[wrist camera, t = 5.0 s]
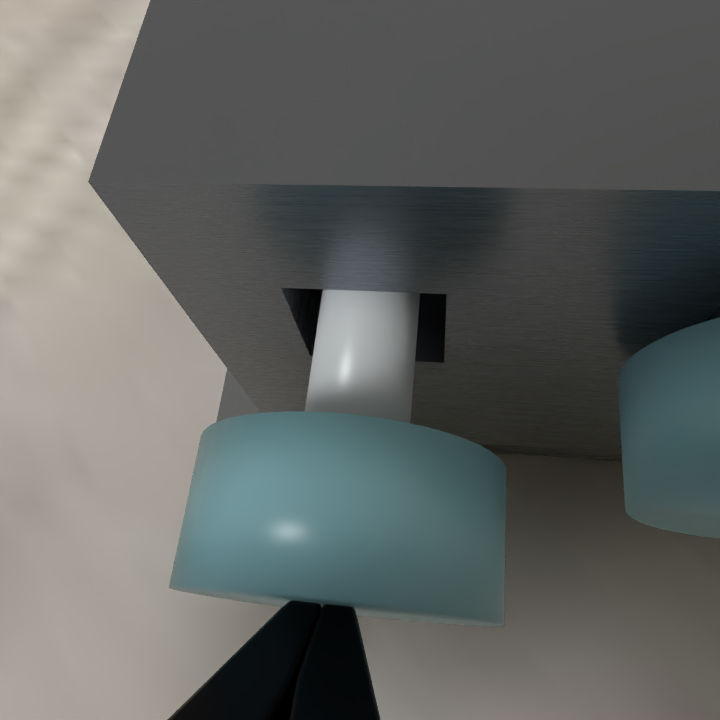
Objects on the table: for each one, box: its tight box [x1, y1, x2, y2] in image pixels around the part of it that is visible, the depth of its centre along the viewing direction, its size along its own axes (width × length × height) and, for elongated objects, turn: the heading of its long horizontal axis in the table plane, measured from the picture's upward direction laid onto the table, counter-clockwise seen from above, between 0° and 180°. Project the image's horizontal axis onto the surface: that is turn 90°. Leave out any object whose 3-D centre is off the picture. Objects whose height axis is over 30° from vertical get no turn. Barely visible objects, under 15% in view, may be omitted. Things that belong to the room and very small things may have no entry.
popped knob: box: [169, 289, 506, 627], centre depth 10 cm, size 8×4×4 cm, turn 174°
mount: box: [88, 0, 720, 461], centre depth 13 cm, size 8×15×10 cm, turn 84°
